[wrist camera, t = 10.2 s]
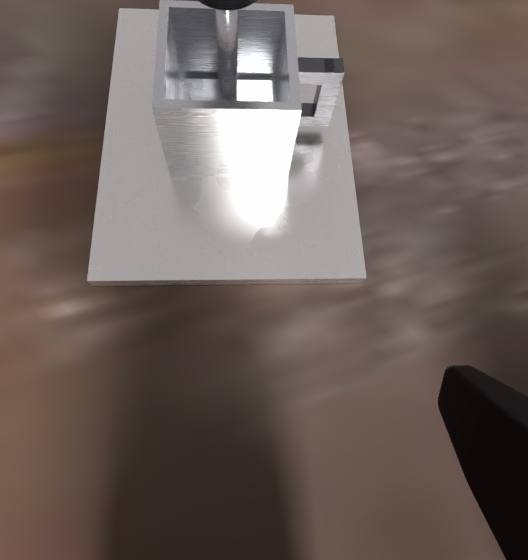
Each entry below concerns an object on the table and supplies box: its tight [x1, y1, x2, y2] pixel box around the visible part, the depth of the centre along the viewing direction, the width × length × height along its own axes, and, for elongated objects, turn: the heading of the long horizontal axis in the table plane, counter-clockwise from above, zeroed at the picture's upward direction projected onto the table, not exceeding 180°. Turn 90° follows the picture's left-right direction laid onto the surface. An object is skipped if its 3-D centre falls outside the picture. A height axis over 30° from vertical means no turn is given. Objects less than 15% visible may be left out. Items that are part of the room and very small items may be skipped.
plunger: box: [183, 0, 273, 101], centre depth 20 cm, size 5×5×11 cm
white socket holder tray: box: [87, 0, 366, 286], centre depth 24 cm, size 20×15×6 cm
